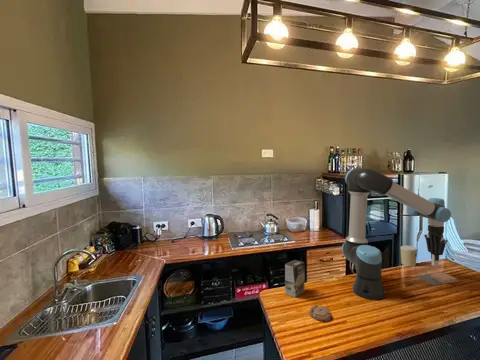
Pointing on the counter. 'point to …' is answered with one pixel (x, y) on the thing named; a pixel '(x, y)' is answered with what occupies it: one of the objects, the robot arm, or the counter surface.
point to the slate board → (431, 279)
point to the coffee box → (294, 278)
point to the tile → (443, 277)
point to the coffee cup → (408, 255)
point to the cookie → (320, 313)
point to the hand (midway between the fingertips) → (434, 265)
